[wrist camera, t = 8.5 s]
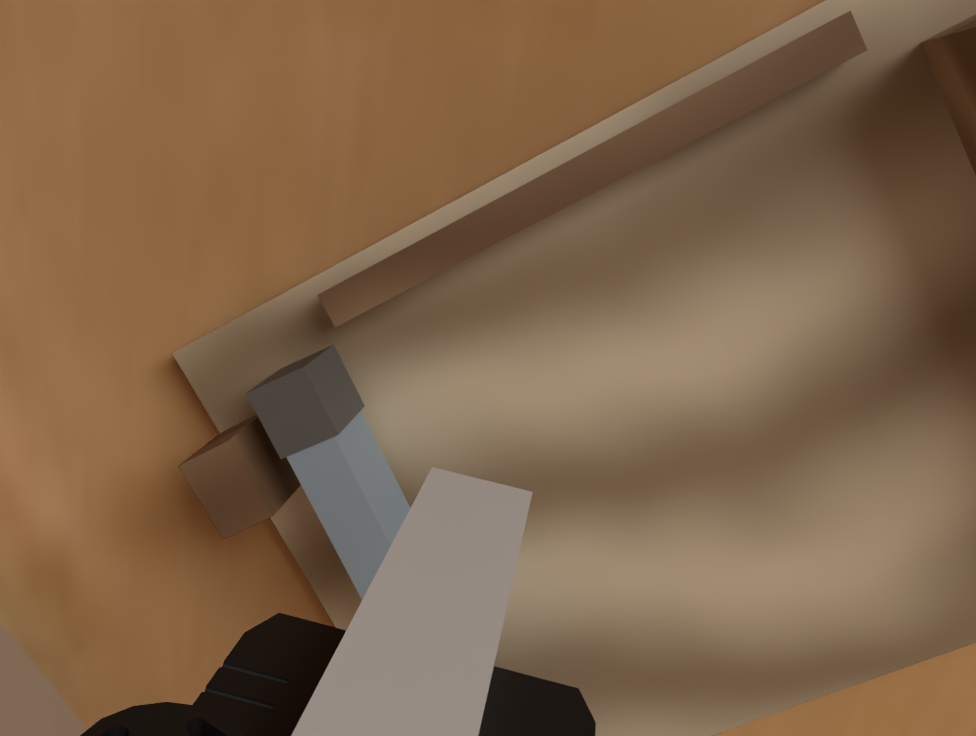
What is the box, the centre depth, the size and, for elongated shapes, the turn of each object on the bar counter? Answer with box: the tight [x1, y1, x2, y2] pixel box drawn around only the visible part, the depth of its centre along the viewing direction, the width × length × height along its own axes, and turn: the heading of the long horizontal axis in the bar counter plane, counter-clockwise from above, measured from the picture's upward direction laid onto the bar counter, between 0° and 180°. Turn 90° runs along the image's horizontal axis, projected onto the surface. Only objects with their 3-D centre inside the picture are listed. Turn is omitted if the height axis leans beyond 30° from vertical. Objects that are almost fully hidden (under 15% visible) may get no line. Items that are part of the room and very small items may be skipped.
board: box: [172, 0, 976, 736], centre depth 25 cm, size 18×24×5 cm
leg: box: [246, 345, 410, 600], centre depth 25 cm, size 16×3×4 cm, turn 25°
